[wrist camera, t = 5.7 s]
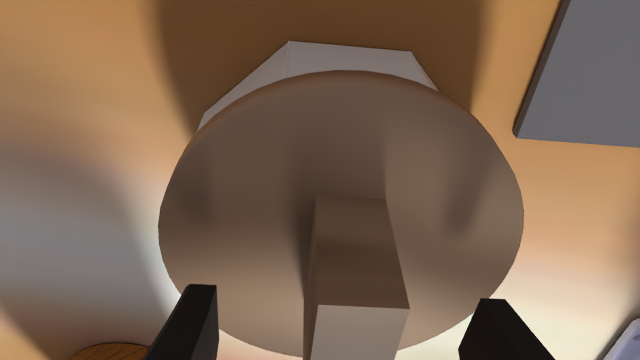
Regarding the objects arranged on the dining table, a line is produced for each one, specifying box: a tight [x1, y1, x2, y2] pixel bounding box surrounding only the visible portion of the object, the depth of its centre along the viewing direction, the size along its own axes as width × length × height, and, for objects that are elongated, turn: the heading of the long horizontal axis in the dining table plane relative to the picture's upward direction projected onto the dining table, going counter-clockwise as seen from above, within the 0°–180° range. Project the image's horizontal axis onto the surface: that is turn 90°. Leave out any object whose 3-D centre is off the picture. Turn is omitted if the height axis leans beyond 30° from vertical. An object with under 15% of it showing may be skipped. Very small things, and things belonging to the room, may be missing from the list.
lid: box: [158, 70, 524, 360], centre depth 12 cm, size 10×10×4 cm
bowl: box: [196, 40, 439, 133], centre depth 15 cm, size 9×9×4 cm
